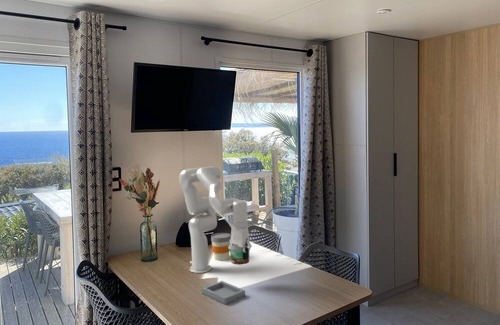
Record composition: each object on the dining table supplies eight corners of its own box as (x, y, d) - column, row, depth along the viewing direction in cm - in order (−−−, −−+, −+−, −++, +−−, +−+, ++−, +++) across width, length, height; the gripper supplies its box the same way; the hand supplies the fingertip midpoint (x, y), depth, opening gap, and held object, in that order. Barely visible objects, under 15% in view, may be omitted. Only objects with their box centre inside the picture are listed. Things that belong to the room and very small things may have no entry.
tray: (202, 293, 206) (201, 288, 206) (222, 286, 215) (222, 280, 214) (224, 304, 193) (224, 298, 192) (245, 296, 202) (244, 290, 201)
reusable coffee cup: (209, 257, 262) (208, 234, 261) (227, 254, 267) (226, 231, 266) (215, 263, 251) (214, 239, 249) (234, 259, 256) (233, 236, 255)
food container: (232, 266, 209) (231, 247, 208) (228, 263, 214) (228, 244, 214) (254, 263, 212) (254, 244, 212) (251, 260, 218) (250, 241, 218)
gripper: (223, 222, 216) (224, 255, 218) (246, 228, 203) (246, 263, 205) (234, 219, 221) (235, 251, 223) (256, 225, 208) (257, 259, 210)
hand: (240, 257), depth 214 cm, fingers closed on food container, 6 cm apart
